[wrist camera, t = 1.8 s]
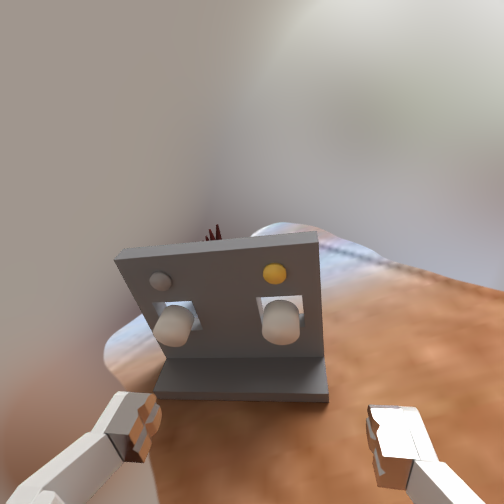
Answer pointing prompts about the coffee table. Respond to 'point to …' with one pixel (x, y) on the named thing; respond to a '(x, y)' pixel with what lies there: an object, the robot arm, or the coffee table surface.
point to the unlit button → (173, 326)
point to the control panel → (234, 316)
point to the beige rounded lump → (281, 322)
